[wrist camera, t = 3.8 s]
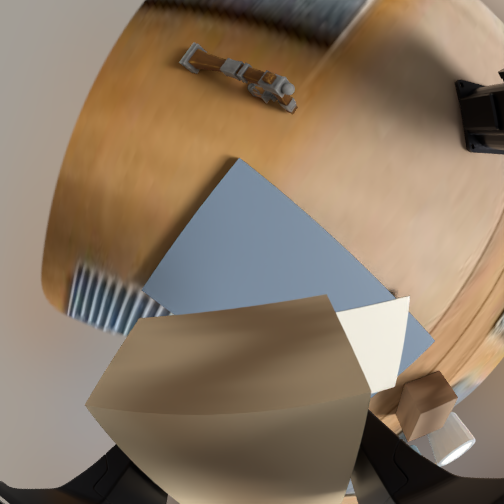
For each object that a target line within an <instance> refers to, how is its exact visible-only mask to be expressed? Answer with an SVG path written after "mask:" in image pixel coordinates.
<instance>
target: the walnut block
mask: <svg viewBox="0 0 504 504" xmlns="http://www.w3.org/2000/svg"><path fill="white" fill-rule="evenodd" d="M457 398H458V397H457V395H456V394H455V392H454V391H453V389H452V388H451V386H450V385H449V384H448V382H447V381H446V379H445V378H444V376H443V375H442V373H441V372H440V371H438V372H435V373H433V374H430V375H427V376H425V377H422V378H419V379H417V380H414V381H411V382H408V383H405V384H404V387H403V391H402V395H401V398H400V401H399V405H398V408H397V411H396V416H397V418H398V421H399V423H400V425H401V427H402V430H403V432H404V434H405V437H406V439H407V441H408V442H410V441H412V440H415V439H417V438H420V437H422V436H424V435H427V434H429V433H431V432H434V431H436V430H438V429H440V428H442V427H443V426H444V424H445V422H446V420H447V418H448V416H449V414H450V413H451V411H452V409H453V407H454V405H455V403H456V401H457Z"/></svg>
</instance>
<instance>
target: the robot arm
mask: <svg viewBox="0 0 504 504" xmlns="http://www.w3.org/2000/svg"><path fill="white" fill-rule="evenodd" d="M498 73H499V75H500V77H501V79H503V81H504V69H502V70H500V71H499V72H498ZM455 85H456V89H457V93H458V98H459V103H460V108H461V113H462V119H463V125H464V131H465V139H466V147H467V150H468V151H469V152H474V153H492V154H504V83H502V84H496V85H491V86H483V85H479V84H475V83H472V82H468V81H464V80H457V81H456V82H455ZM460 85H461V86H460ZM471 146H472V148H471ZM351 481H352V484H353V488H354V491H355V494H356V497H357V500H358V504H504V478H470V477H461V476H457V475H454V474H452V473H449V472H448V471H446V470H444V469H443V468H441V467H439V466H438V465H436V464H434V463H433V462H431V461H430V460H428V459H426V458H425V457H423V456H422V455H421V454H419V453H418V452H416V451H415V450H414V449H412V448H411V447H410V446H409V445H407V444H406V443H405V442H404V441H403V440H402V439H399V437H398V436H397V435H396V434H395V433H394V432H393V431H392V430H391V429H389V428H388V427H387V426H386V425H385V424H384V423H383V422H382V421H381V420H379V419H378V418H377V417H376V416H375V415H374V414H373V413H372V412H371V411H370V410H369V409H368V413H367V417H366V422H365V426H364V431H363V435H362V439H361V443H360V447H359V450H358V454H357V458H356V461H355V465H354V468H353V471H352V474H351ZM0 496H1V497H2V498H4V499H5V500H6V501H7V502H8V503H10V504H166V502H167V496H168V494H167V493H166V492H165V491H164V490H163V489H162V488H160V487H159V486H158V485H157V484H156V483H155V482H154V481H152V480H151V479H150V478H149V477H148V476H147V475H146V474H145V473H144V472H143V471H142V470H141V469H140V468H139V467H138V466H137V465H136V464H135V463H134V462H133V461H132V460H131V459H130V458H129V457H128V456H127V455H126V454H125V453H124V452H123V451H122V450H121V449H120V448H119V447H118V445H117V444H116V445H115V446H114V447H112V448H111V449H110V450H109V451H108V452H107V453H106V455H104V456H103V457H101V458H100V459H99V460H98V461H97V462H96V463H94V464H93V465H92V466H91V467H89V468H88V469H87V470H86V471H84V472H83V473H81V474H80V475H79V476H77V477H76V478H74V479H72V480H71V481H70V482H68V483H66V484H65V485H63V486H61V487H58V488H52V489H17V488H12V487H9V486H7V485H6V484H5V483H4V482H2V481H0ZM0 504H5V503H3V502H2V501H1V500H0Z"/></svg>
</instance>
